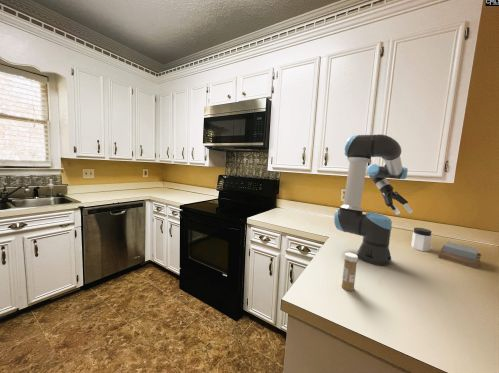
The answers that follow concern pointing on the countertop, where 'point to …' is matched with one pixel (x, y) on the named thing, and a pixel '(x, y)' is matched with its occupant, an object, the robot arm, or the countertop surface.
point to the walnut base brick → (460, 259)
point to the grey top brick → (460, 250)
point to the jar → (421, 239)
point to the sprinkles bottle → (349, 271)
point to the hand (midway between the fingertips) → (405, 213)
